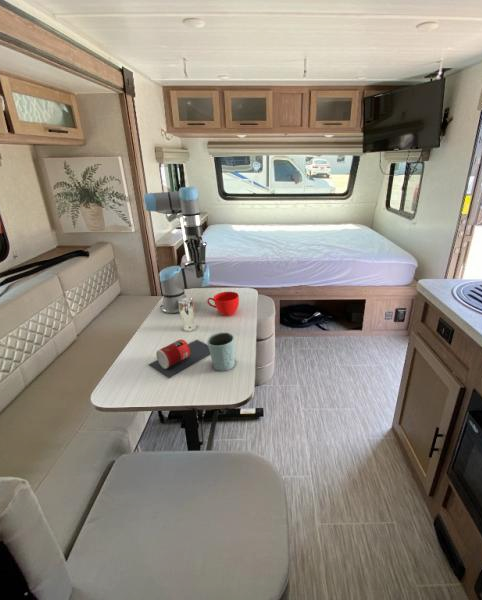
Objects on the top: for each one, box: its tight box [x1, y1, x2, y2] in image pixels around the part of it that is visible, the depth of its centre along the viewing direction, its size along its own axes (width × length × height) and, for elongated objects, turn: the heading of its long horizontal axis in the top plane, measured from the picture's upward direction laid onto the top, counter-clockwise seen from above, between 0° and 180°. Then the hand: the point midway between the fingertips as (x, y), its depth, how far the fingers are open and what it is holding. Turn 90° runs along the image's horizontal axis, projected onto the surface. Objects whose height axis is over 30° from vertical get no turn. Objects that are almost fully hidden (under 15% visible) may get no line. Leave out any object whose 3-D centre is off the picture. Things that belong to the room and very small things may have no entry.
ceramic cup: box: [206, 291, 240, 317], centre depth 171 cm, size 13×17×10 cm
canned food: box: [155, 339, 190, 369], centre depth 130 cm, size 8×8×11 cm
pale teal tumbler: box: [206, 332, 236, 372], centre depth 126 cm, size 10×10×12 cm
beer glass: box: [178, 297, 197, 332], centre depth 156 cm, size 7×7×15 cm
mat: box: [148, 339, 211, 379], centre depth 135 cm, size 24×14×1 cm, turn 140°
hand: (200, 276), depth 148 cm, fingers closed
